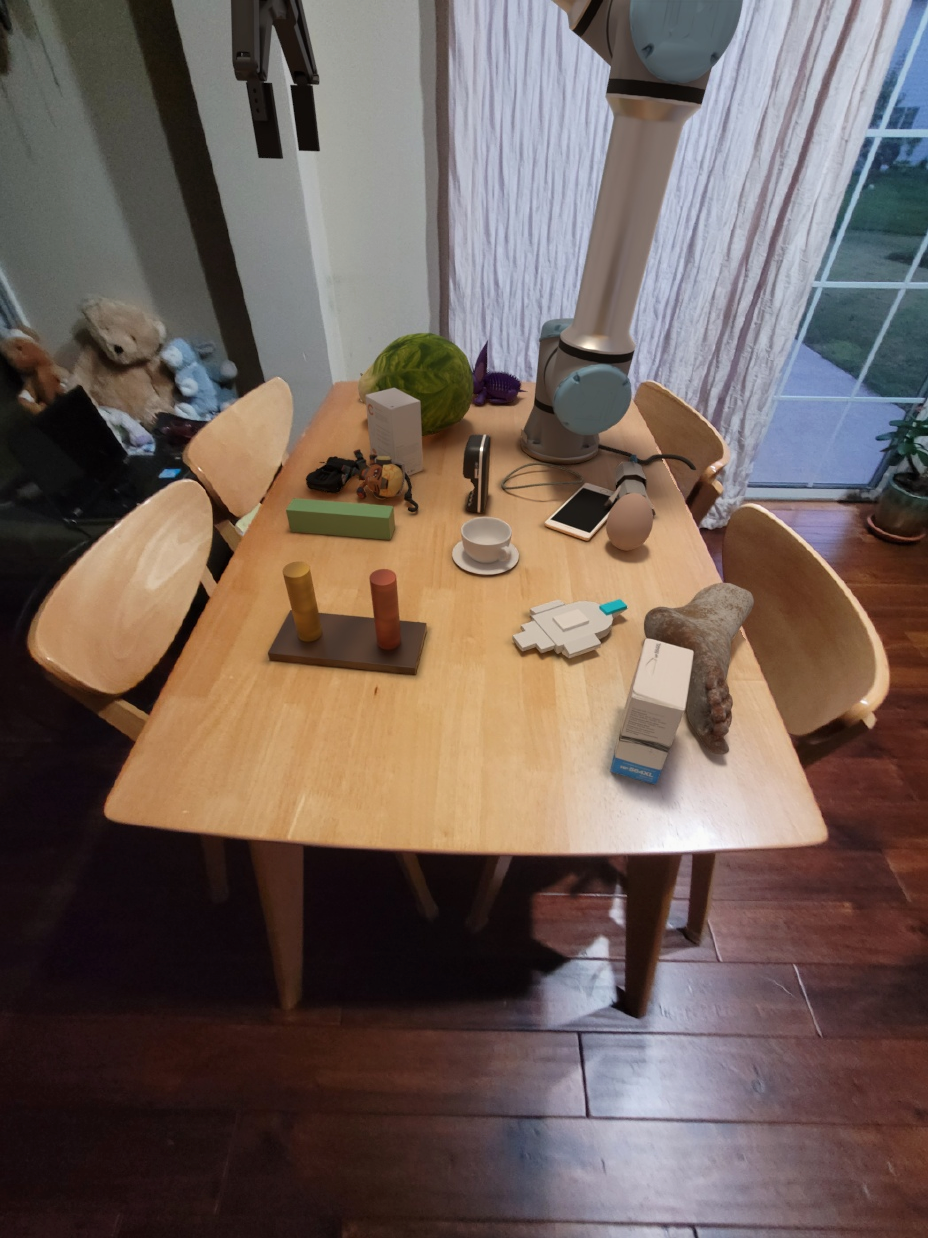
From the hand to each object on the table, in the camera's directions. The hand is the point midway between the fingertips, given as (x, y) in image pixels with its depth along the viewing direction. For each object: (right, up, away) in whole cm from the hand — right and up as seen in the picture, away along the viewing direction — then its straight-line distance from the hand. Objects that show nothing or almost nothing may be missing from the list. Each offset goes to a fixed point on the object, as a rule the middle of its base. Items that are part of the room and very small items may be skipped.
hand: (291, 154), depth 73 cm
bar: (+2, -44, +19) cm, 48 cm away
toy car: (-1, -34, +30) cm, 46 cm away
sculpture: (+45, -64, -7) cm, 78 cm away
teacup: (+25, -49, +14) cm, 57 cm away
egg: (+46, -47, +16) cm, 68 cm away
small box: (+9, -30, +35) cm, 47 cm away
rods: (+7, -61, 0) cm, 62 cm away
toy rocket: (+35, -58, +1) cm, 68 cm away
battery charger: (+23, -39, +26) cm, 52 cm away
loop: (+37, -30, +35) cm, 59 cm away
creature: (+27, -8, +60) cm, 66 cm away
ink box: (+40, -72, -11) cm, 83 cm away
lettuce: (+11, -19, +47) cm, 52 cm away
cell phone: (+42, -40, +24) cm, 63 cm away
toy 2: (+49, -43, +18) cm, 67 cm away
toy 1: (+3, -30, +27) cm, 41 cm away
